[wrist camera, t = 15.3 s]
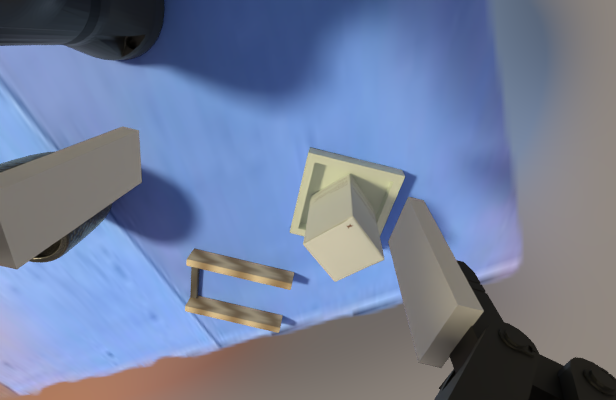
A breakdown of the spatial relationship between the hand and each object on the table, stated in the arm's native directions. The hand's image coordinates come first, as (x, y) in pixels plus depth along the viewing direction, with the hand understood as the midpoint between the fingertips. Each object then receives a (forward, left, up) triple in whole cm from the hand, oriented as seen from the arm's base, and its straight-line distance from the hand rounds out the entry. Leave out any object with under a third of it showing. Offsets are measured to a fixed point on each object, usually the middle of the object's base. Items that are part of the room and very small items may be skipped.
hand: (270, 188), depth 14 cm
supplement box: (+8, -14, -28) cm, 33 cm away
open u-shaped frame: (-6, -38, -29) cm, 48 cm away
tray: (+8, -14, -29) cm, 33 cm away
